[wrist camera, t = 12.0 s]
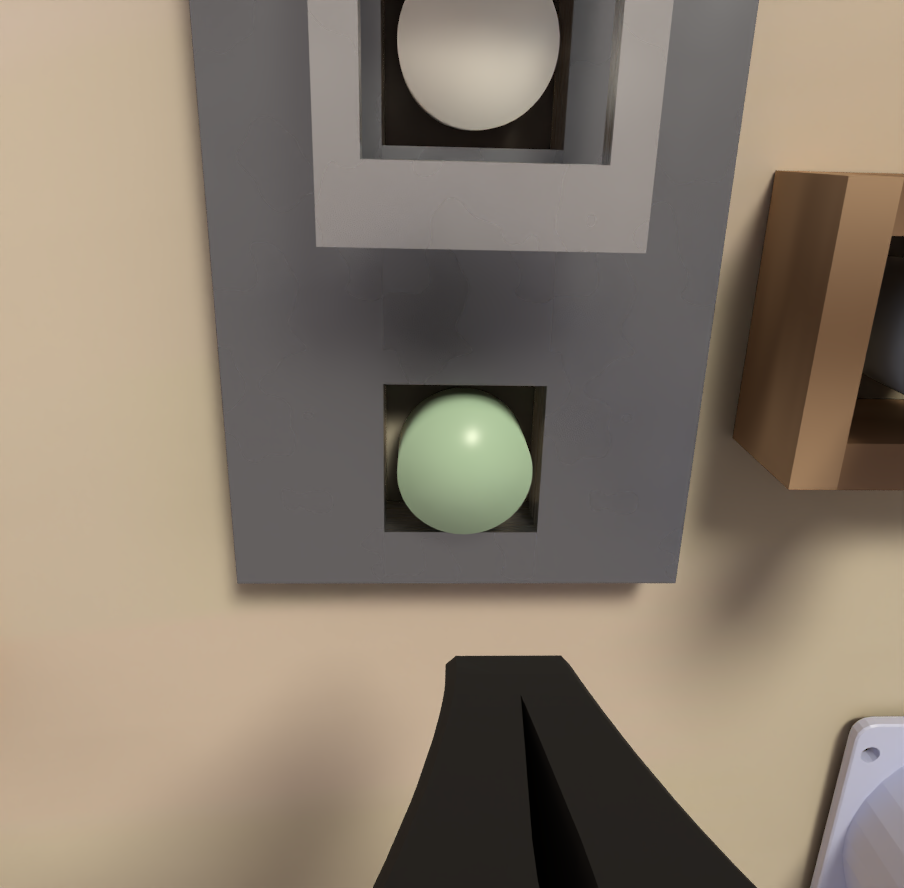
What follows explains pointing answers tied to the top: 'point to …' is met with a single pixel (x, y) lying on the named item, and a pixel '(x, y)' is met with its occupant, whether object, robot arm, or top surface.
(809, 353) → the holder
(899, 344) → the dowel
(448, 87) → the button reset
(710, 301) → the panel
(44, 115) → the top surface
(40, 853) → the top surface
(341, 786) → the top surface
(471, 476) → the button on
